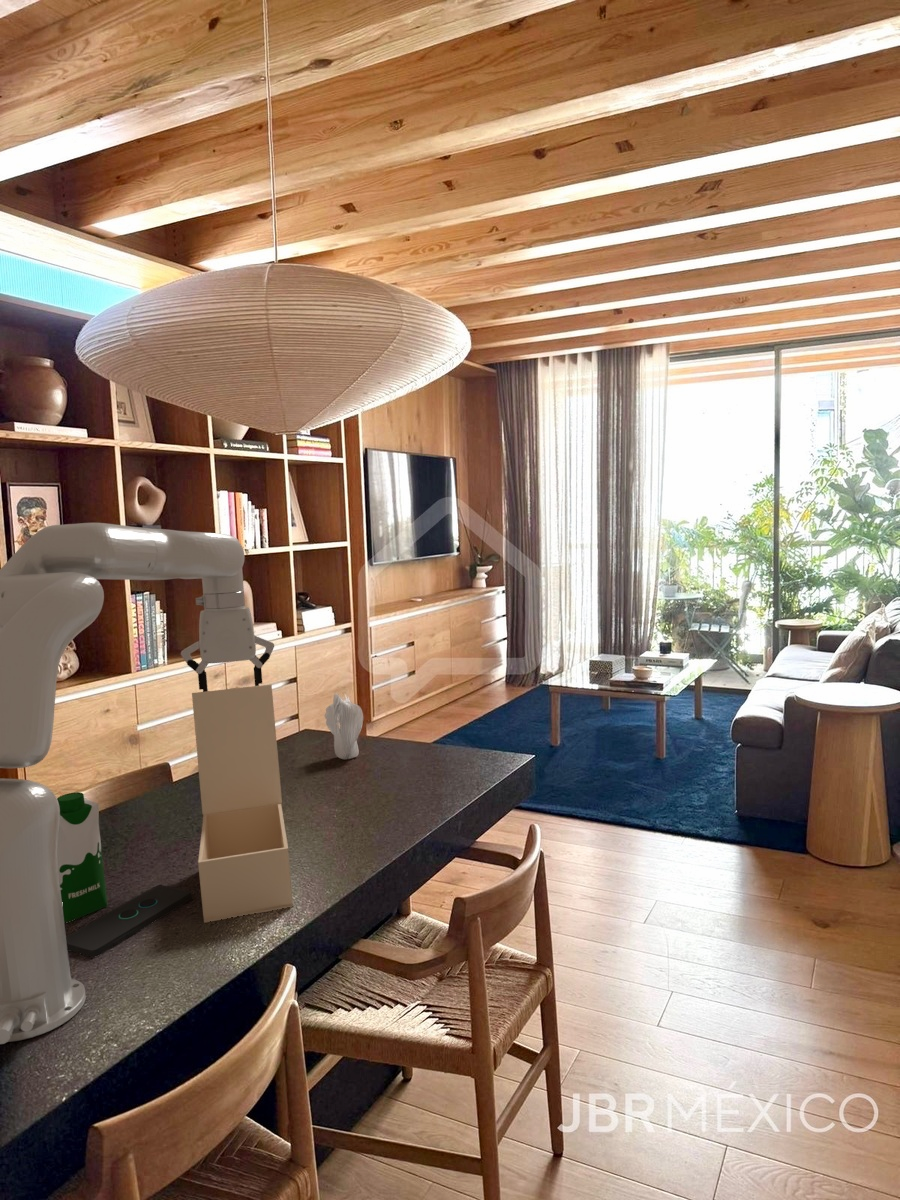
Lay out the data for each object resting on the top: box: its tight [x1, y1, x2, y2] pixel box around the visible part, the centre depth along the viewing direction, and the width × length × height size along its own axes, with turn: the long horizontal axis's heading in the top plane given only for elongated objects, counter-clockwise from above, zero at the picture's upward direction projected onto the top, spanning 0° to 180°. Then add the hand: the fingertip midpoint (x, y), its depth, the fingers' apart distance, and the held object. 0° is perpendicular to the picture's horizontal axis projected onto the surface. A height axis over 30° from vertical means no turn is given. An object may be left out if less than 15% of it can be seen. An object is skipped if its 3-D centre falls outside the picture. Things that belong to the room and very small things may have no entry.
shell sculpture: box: [324, 692, 364, 760], centre depth 212 cm, size 8×8×18 cm
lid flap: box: [191, 683, 283, 815], centre depth 154 cm, size 22×14×7 cm
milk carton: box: [56, 791, 108, 923], centre depth 135 cm, size 9×9×20 cm
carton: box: [197, 803, 294, 923], centre depth 140 cm, size 22×14×10 cm, turn 15°
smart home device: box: [66, 884, 192, 958], centre depth 131 cm, size 8×2×20 cm
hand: (231, 690), depth 155 cm, fingers open, 9 cm apart
